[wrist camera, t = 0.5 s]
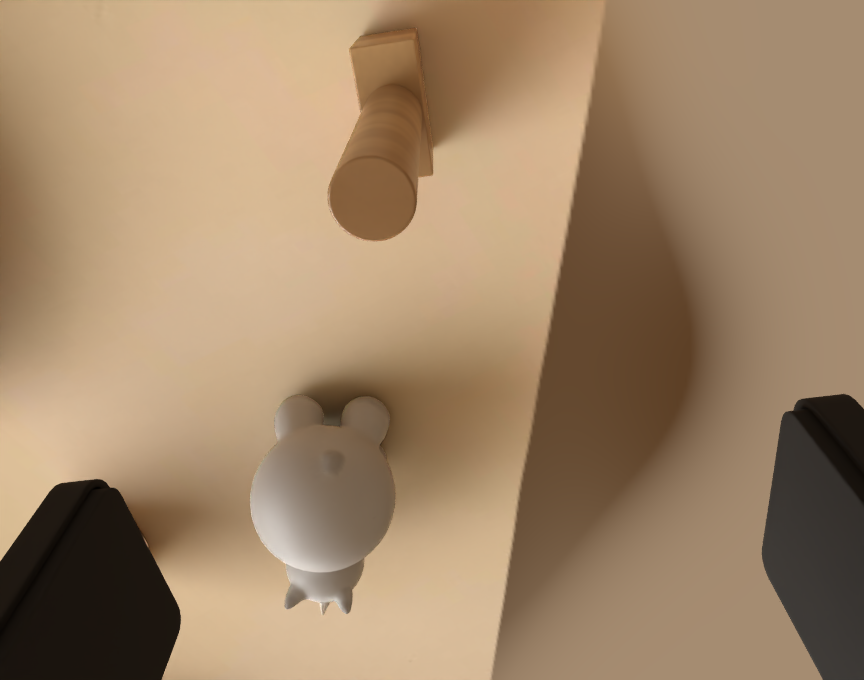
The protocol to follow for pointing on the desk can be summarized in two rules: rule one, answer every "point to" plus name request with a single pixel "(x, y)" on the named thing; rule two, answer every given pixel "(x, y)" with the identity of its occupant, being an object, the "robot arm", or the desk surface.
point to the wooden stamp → (384, 139)
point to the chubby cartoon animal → (324, 497)
